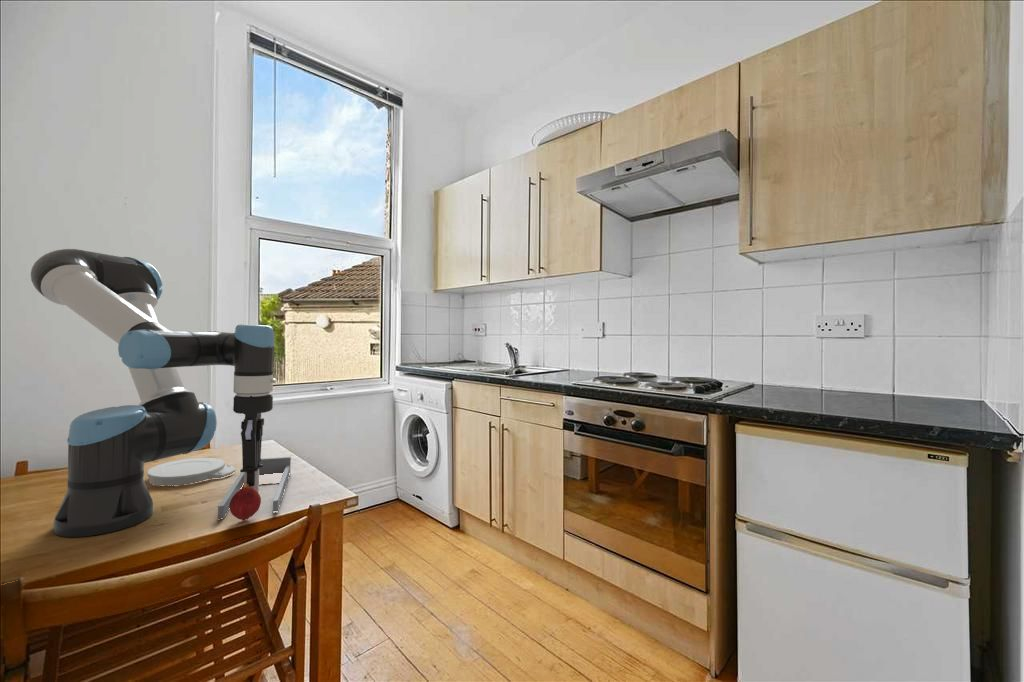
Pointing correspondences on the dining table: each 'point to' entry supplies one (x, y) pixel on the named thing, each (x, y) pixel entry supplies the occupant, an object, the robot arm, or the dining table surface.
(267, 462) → the channel
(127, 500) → the robot arm
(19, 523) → the dining table surface
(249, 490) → the onion
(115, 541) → the dining table surface
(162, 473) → the lid
